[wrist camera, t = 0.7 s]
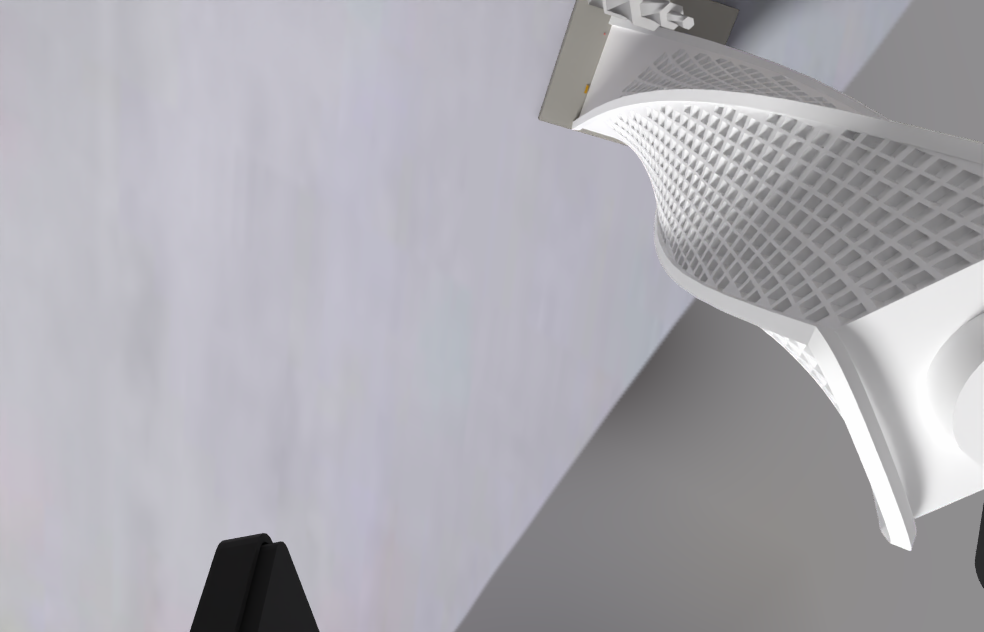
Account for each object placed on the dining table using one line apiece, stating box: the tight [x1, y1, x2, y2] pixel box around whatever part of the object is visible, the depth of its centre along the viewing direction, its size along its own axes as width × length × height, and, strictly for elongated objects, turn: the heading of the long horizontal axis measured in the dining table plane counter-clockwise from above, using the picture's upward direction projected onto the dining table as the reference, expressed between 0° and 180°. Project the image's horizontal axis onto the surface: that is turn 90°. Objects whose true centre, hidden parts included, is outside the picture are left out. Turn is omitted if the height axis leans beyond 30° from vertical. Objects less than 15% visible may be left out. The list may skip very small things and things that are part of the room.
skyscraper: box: [538, 0, 984, 551], centre depth 24 cm, size 8×8×28 cm
